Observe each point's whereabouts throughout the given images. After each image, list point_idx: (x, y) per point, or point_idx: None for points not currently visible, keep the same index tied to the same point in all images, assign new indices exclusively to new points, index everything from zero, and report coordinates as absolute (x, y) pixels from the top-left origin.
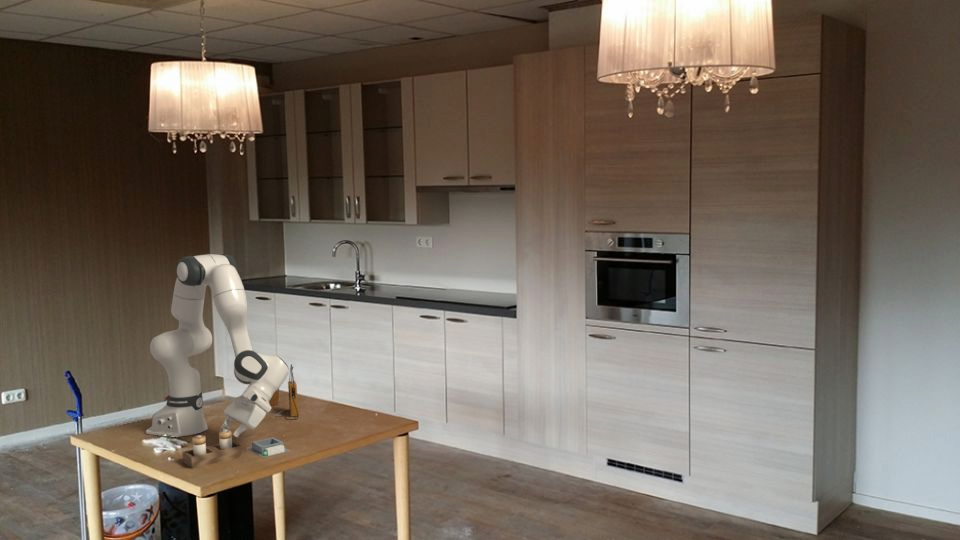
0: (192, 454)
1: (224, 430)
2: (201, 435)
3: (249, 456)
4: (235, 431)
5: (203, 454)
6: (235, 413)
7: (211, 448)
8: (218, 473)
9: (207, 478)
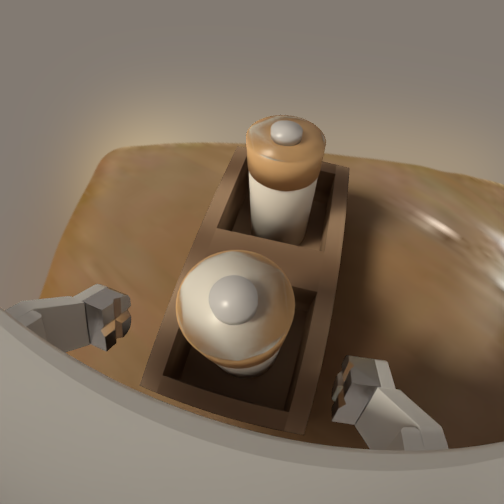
0: (329, 205)
1: (227, 287)
2: (309, 159)
3: None
4: (85, 292)
5: (231, 187)
6: (203, 488)
7: (281, 259)
8: (137, 219)
9: (141, 179)
